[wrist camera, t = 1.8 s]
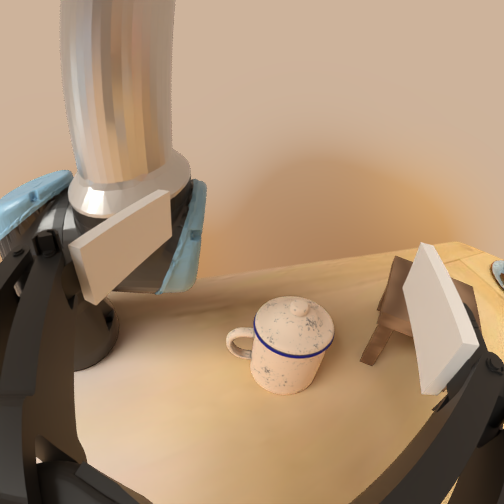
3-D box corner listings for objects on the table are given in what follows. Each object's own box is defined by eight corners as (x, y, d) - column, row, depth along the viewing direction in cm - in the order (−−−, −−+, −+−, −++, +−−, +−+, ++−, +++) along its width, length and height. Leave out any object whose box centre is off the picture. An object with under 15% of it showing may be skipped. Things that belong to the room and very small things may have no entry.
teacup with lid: (311, 343, 38) (332, 280, 32) (320, 397, 30) (351, 337, 24) (228, 339, 38) (230, 273, 32) (222, 394, 30) (223, 332, 24)
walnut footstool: (356, 362, 35) (382, 311, 30) (377, 301, 47) (395, 255, 42) (445, 395, 28) (484, 350, 23) (447, 329, 40) (472, 286, 35)
